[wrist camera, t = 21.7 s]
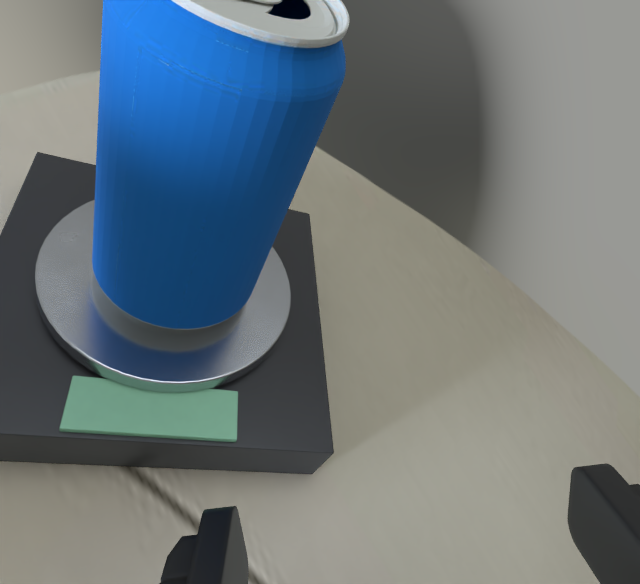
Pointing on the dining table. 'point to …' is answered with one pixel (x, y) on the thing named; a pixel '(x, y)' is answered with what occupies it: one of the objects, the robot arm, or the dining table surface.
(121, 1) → the beverage can
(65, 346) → the scale pan
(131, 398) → the scale
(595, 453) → the dining table surface
